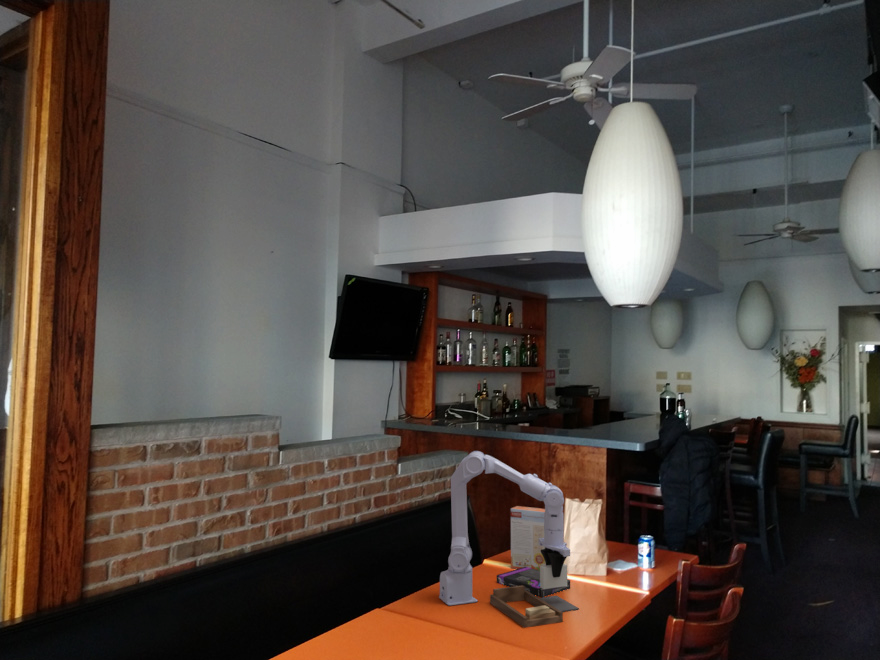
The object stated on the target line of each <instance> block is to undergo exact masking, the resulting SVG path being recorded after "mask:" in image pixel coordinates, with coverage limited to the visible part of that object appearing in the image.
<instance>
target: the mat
mask: <svg viewBox="0 0 880 660" xmlns="http://www.w3.org/2000/svg"><path fill="white" fill-rule="evenodd" d="M539 598H540V599H541V600H543V601H545V602H546V603H548V604H550V605H551V606H553V607H555V608H556V609H558V610H560V611H561V612H563V613H566V612H565V611H567V612H572V611H571V610H573V611H578V609H579V610H580V608H579V607H578V606H576V605H574V604H572V603H570V602H569V601H567V600H565V599H563V598H561V597H560V596H558V595H549V596H546V597H542V598H541V597H539Z"/></svg>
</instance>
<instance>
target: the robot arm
mask: <svg viewBox="0 0 880 660" xmlns="http://www.w3.org/2000/svg"><path fill="white" fill-rule="evenodd" d="M483 471H484V474H486V475H487V474H496V475H499V476H501V477H503V478H504V479H507V480H509V481H511V482H513V483H514V484H517V485H518V486H519V489H520V491H521V492H523V493H525V494H526V495H529V496H530V497H532V498H534V500H535V499H536V500H537V501H539V502H543V503H544V509H545V512H544V538H539V545H540V546H544V547H545V549H542V550H541V553H542V555H543V557H544V560H545V563H546V566H547V565H551V567H552V575H553V577H560V575H561V570H562V567H563V564H565V561H566V559H567V557H571V549H570V548H569V547H568V543H567V542H565V537H564V536H565V533H564V531H565V529H564V527H565V522H564V520H565V517H564V515H565V514H564V506H563V505H564V504H565V499H564V493H563V491H562V490H561V489H560V488H559V487H558V486H557V485H554V484H553V483H551V482H550V481H549V482H546V481H544V480H542V479H541V478H539V476H538V474H537V473H533V474H532V473H527V474H523V473H521V472H519V471H517V470H516V469H514V468H512V467H511V466H509V465H507V464H506V463H504V462H502V461H501V460H499V459H497V458H495V457H494V456H492V455H489V454H484V452H482V451H479V450H473V451H471V452H470V453H469V454H467V455H466V456H465V457H463V459H462V460H461V461H460V463H459V464H458V466H457V467H456V469H455V470H454V472H453V473H452V475H451V477H450V498H451V500H450V501H451V502H450V503H451V504H450V505H451V510H450V511H451V545H450V554H449V556H448V560H447V563H448V567H447V568H448V569H447V570H444V571H441V572H440V575H439V596H438V598H439V599H440V600H441V601H442V602H443V603H445V604H446V605H447V606H457V605H464V604H472V603H477V602H478V599H476V598H475V597H473V566H472V565H471V563H470V562H471V560H472V558H473V551H472V550H473V549H472V548H471V546H470V542H469V541H470V540H469V533H468V530H469V529H468V527H469V526H468V496H467V494H468V493H467V484H468V483H469V482H470V481H471V480H472V479H473V478H475V477H477V476H479V475H481V474H482V473H483Z"/></svg>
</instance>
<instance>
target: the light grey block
mask: <svg viewBox="0 0 880 660" xmlns="http://www.w3.org/2000/svg"><path fill="white" fill-rule="evenodd" d="M567 579H568V565H567V564H565V563H564V564H563V567H562V570H561V575H560V577H553V575H552V567H551V565H547V566H540V587H541V588H543V589H549V588H557V587H564V586H567Z"/></svg>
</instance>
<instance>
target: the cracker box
mask: <svg viewBox="0 0 880 660" xmlns="http://www.w3.org/2000/svg"><path fill="white" fill-rule="evenodd" d="M544 512H545V508H540V507H529V506H523V505H522V506H520V505H516V506H513V507H511V508H510V568H511V569H514V570H516V569H519V568H523V567H525V566H526V567H529V568H532V569H535V570H539V571H540V566H546V563H545V560H544V557H543V555H542V553H541V550H542V549H545V547H544V546H540V545H539V538H544Z"/></svg>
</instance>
